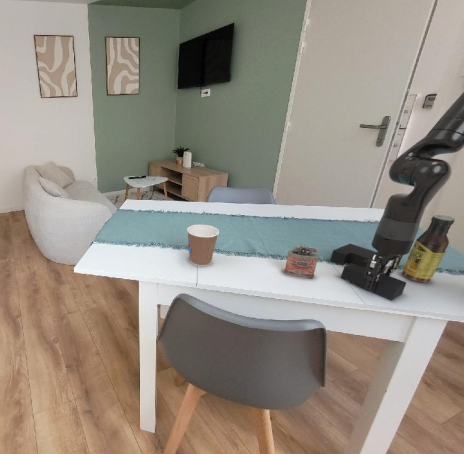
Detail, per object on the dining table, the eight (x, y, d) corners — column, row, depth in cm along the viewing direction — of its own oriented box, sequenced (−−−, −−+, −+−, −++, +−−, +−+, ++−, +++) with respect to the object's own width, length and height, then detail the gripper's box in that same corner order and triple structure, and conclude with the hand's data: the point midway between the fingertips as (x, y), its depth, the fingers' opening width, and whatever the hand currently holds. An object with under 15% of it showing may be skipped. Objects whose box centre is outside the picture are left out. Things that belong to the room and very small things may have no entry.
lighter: (283, 274, 92) (290, 246, 88) (283, 269, 95) (289, 242, 91) (314, 279, 89) (322, 251, 85) (312, 274, 91) (320, 246, 88)
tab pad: (349, 273, 91) (352, 262, 89) (401, 294, 80) (406, 282, 79) (339, 278, 89) (342, 267, 87) (391, 300, 78) (396, 288, 77)
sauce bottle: (397, 270, 91) (421, 211, 83) (424, 274, 88) (452, 213, 80) (406, 281, 86) (432, 219, 78) (435, 286, 83) (465, 222, 75)
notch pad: (389, 268, 92) (394, 257, 91) (373, 277, 88) (377, 266, 87) (346, 253, 102) (350, 243, 101) (330, 260, 98) (333, 250, 97)
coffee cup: (189, 252, 109) (191, 222, 104) (218, 257, 104) (221, 227, 99) (181, 264, 101) (183, 233, 96) (212, 271, 96) (215, 238, 91)
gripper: (391, 223, 83) (372, 273, 89) (363, 234, 77) (345, 287, 84) (427, 232, 76) (404, 285, 83) (399, 245, 71) (377, 301, 77)
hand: (375, 286), depth 83 cm, fingers open, 6 cm apart
